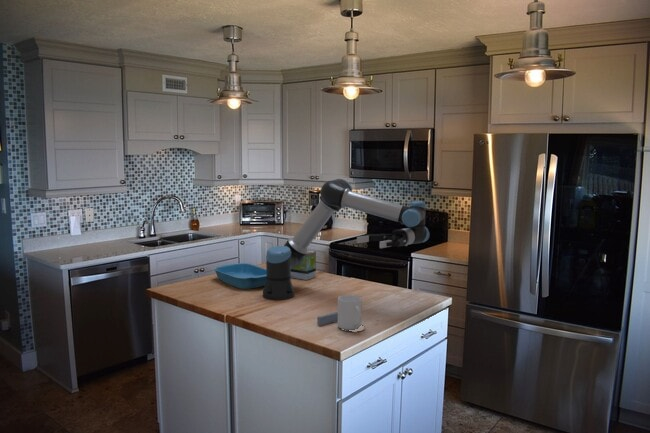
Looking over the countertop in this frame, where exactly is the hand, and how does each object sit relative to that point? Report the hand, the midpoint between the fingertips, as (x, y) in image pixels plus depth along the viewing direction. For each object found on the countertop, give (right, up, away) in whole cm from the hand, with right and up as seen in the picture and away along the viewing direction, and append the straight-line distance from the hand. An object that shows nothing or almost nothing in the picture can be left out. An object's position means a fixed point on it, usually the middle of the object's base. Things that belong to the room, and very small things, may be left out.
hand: (368, 242), depth 219 cm
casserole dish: (-62, -24, +56) cm, 87 cm away
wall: (-14, -33, -4) cm, 36 cm away
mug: (-8, -34, -12) cm, 36 cm away
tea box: (-32, -23, +69) cm, 79 cm away
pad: (-7, -34, -12) cm, 36 cm away
